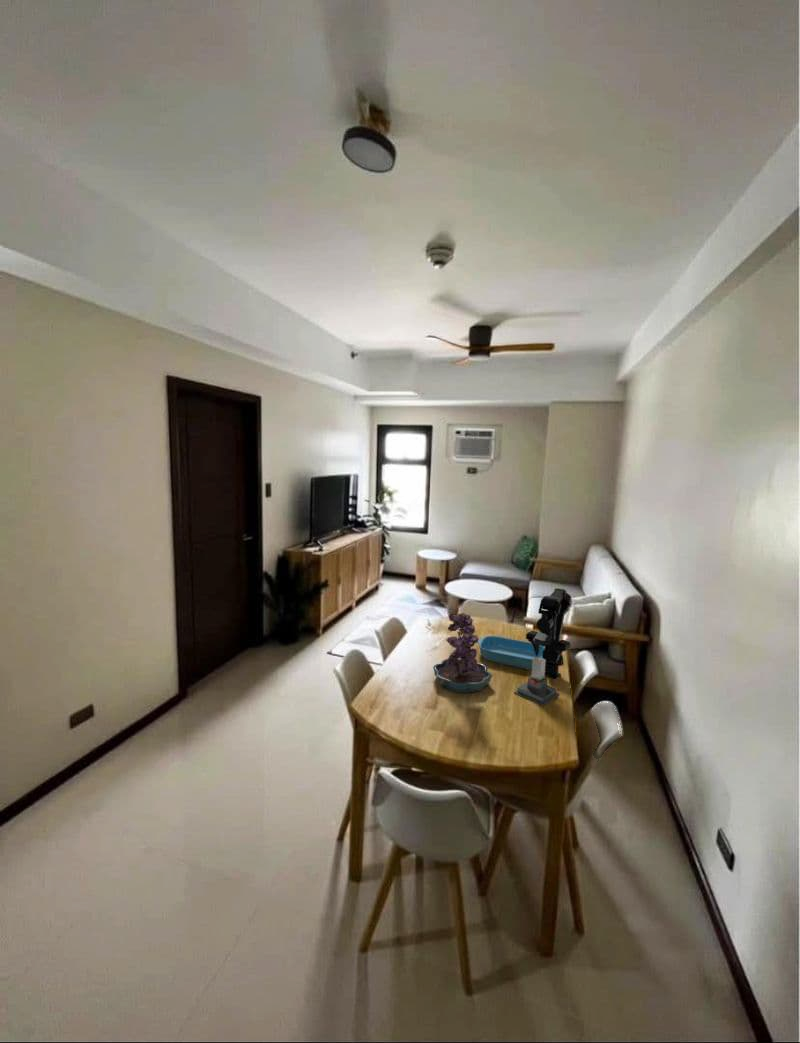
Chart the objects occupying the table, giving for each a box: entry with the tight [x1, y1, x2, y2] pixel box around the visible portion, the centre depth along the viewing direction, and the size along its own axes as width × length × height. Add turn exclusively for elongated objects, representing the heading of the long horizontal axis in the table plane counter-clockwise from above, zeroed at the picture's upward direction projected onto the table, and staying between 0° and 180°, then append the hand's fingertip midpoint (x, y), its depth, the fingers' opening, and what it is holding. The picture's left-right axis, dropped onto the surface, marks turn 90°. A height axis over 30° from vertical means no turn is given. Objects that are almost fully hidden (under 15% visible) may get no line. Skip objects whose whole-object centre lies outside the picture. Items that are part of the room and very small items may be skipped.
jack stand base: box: [513, 676, 560, 706], centre depth 189 cm, size 14×14×7 cm
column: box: [530, 657, 546, 682], centre depth 188 cm, size 4×4×11 cm
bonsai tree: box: [432, 612, 493, 693], centre depth 193 cm, size 35×27×33 cm
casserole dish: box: [476, 635, 545, 670], centre depth 223 cm, size 37×22×7 cm, turn 67°
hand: (546, 658), depth 194 cm, fingers open, 9 cm apart
